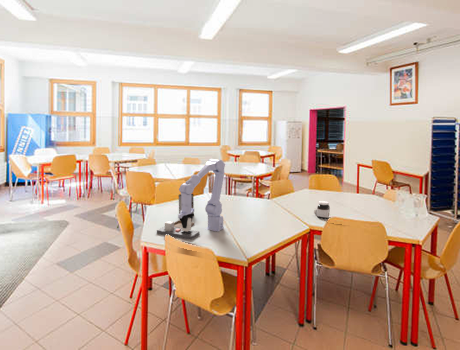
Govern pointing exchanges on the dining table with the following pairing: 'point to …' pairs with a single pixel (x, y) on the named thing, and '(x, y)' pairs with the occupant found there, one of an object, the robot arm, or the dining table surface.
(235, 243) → the dining table surface
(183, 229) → the white plug
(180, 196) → the coffee box
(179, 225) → the tray
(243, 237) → the dining table surface
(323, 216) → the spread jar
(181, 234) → the power strip
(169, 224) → the seated plug
